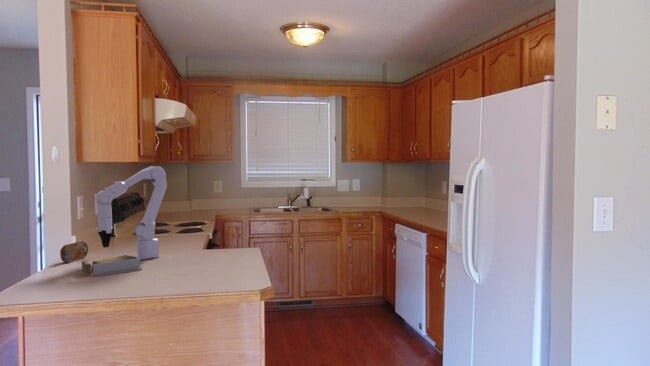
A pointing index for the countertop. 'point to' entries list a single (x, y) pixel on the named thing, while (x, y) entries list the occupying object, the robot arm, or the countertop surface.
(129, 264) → the grey long block
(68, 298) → the countertop surface
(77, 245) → the tin
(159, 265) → the countertop surface
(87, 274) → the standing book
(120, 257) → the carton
